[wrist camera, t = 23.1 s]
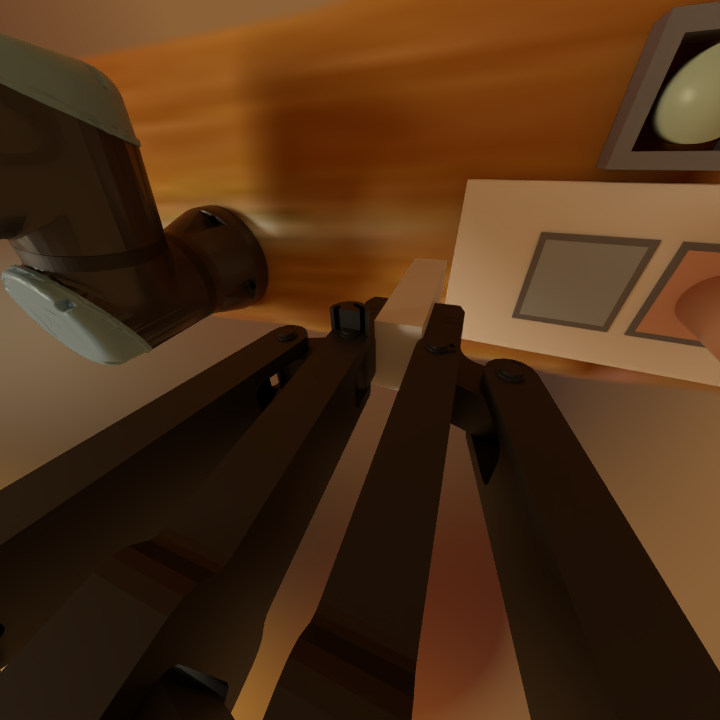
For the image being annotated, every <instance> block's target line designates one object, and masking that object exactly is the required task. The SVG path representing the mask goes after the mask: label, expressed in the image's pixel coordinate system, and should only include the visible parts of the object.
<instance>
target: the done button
mask: <svg viewBox="0 0 720 720" xmlns="http://www.w3.org/2000/svg"><path fill="white" fill-rule="evenodd" d="M651 123H652V128H653V131H654V133H655V134H656V136H657V137H658V138H659V139H661V140H662V141H664V142H667V143H671V144H697V143H703V142H708V141H711V140H714V139H717V138H719V137H720V43H718V44H716V45H714V46H712V47H710V48H708V49H706V50H704V51H702V52H701V53H699V54H697V55H696V56H694V57H693V58H691V59H690V60H689V61H687V62H686V63H685V64H684V65H683V66H681V67H680V68H679V69H678V70H677V71H676V72H675V73H674V74H673V75H672V77H671V78H670V79H669V80H668V81H667V83H666V84H665V85H664V87H663V88H662V90H661V91H660V93H659V95H658V97H657V99H656V101H655V104H654V107H653V110H652V116H651Z"/></svg>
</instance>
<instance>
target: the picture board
mask: <svg viewBox="0 0 720 720" xmlns="http://www.w3.org/2000/svg"><path fill="white" fill-rule="evenodd" d="M719 275H720V184H712V183H659V182H606V181H553V180H500V179H468V181H467V186H466V191H465V197H464V202H463V208H462V213H461V219H460V224H459V229H458V235H457V240H456V246H455V251H454V257H453V262H452V267H451V273H450V278H449V284H448V289H447V295H446V300H445V304H450V305H458V306H461V307H462V309H463V310H464V311H465V317H464V324H463V331H462V338H461V339H466V340H471V341H477V342H482V343H488V344H493V345H498V346H504V347H509V348H515V349H520V350H525V351H531V352H536V353H541V354H547V355H552V356H558V357H563V358H568V359H574V360H579V361H585V362H590V363H595V364H601V365H606V366H611V367H617V368H622V369H628V370H633V371H638V372H644V373H649V374H655V375H660V376H665V377H671V378H676V379H682V380H687V381H692V382H698V383H703V384H708V385H714V386H719V387H720V362H719V361H718V360H717V359H716V358H715V357H714V356H713V355H712V354H711V352H710V351H709V350H708V349H707V348H706V347H705V346H704V345H703V344H702V343H701V342H700V341H699V340H698V339H697V338H696V337H695V336H694V335H693V334H692V333H691V332H690V331H689V330H688V329H687V328H686V327H685V326H684V325H683V324H682V323H681V322H680V321H679V320H678V318H677V317H676V315H675V305H676V303H677V301H678V299H679V298H680V296H681V295H682V294H683V293H684V292H685V291H686V290H688V289H689V288H690V287H692V286H693V285H695V284H697V283H699V282H701V281H703V280H705V279H708V278H711V277H715V276H719Z"/></svg>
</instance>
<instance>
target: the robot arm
mask: <svg viewBox="0 0 720 720" xmlns="http://www.w3.org/2000/svg"><path fill="white" fill-rule="evenodd" d="M139 147H141V143H140V141H139V140H138V139H137V138H136V136H135V133H134V130H133V127H132V124H131V122H130V119H129V116H128V113H127V110H126V107H125V104H124V101H123V98H122V96H121V94H120V92H119V90H118V89H117V87H116V86H115V85H114V83H113V82H112V81H111V80H110V79H109V78H108V77H107V76H106V75H105V74H104V73H103V72H101V71H100V70H98V69H97V68H95V67H94V66H92V65H90V64H88V63H85V62H83V61H81V60H78V59H75V58H73V57H70V56H68V55H65V54H62V53H59V52H57V51H54V50H51V49H48V48H45V47H42V46H40V45H37V44H34V43H31V42H28V41H25V40H22V39H19V38H16V37H13V36H10V35H7V34H4V33H1V32H0V239H7V240H8V241H9V243H10V244H11V245H12V247H13V249H14V250H15V252H16V253H17V255H18V256H19V258H20V260H21V262H22V265H12V266H10V267H9V268H8V269H7V270H5V271H4V272H3V273H2V275H1V279H2V281H3V282H4V283H5V284H4V287H5V289H6V290H7V291H8V293H9V294H10V296H11V297H12V298H13V299H14V300H15V301H16V303H17V304H18V305H19V306H20V307H21V308H22V309H23V310H24V311H25V312H26V313H27V314H28V315H29V316H30V317H31V318H32V319H33V320H34V321H36V322H37V323H38V324H39V325H40V326H41V327H42V328H44V329H45V330H46V331H47V332H48V333H50V334H51V335H52V336H54V337H55V338H56V339H57V340H59V341H60V342H61V343H63V344H64V345H66V346H67V347H69V348H70V349H72V350H73V351H75V352H76V353H78V354H80V355H81V356H83V357H85V358H87V359H89V360H91V361H94V362H96V363H99V364H103V365H120V364H123V363H125V362H127V361H129V360H131V359H133V358H135V357H137V356H140V355H142V354H144V353H148V352H150V351H151V350H152V349H154V348H155V347H157V346H159V345H160V344H162V343H164V342H165V341H167V340H169V339H170V338H172V337H174V336H175V335H177V334H179V333H181V332H182V331H184V330H185V329H187V328H189V327H191V326H192V325H194V324H196V323H197V322H199V321H201V320H202V319H204V318H206V317H207V316H209V315H211V314H213V313H219V312H226V311H232V310H238V309H243V308H246V307H248V306H250V305H252V304H253V303H255V302H256V301H258V300H259V299H260V298H261V297H262V296H263V294H264V293H265V290H266V287H267V282H268V271H267V265H266V261H265V257H264V254H263V252H262V250H261V247H260V245H259V243H258V242H257V240H256V238H255V237H254V235H253V234H252V232H251V231H250V230H249V228H248V227H247V226H246V225H245V224H244V223H243V222H242V221H241V220H240V219H239V218H238V217H236V216H235V215H234V214H232V213H231V212H229V211H227V210H225V209H223V208H221V207H217V206H211V205H208V206H202V207H197V208H193V209H190V210H188V211H186V212H184V213H183V214H182V215H181V216H179V217H178V218H177V219H176V220H174V221H173V222H172V223H171V224H169V225H168V226H167V227H166V228H164V229H163V227H162V223H161V220H160V217H159V213H158V210H157V207H156V203H155V200H154V196H153V193H152V190H151V186H150V183H149V179H148V176H147V173H146V169H145V166H144V163H143V159H142V156H141V152H140V149H139ZM446 263H447V260H439V259H425V258H415V259H414V261H413V262H412V264H411V265H410V267H409V268H408V270H407V271H406V273H405V274H404V276H403V277H402V279H401V281H400V282H399V284H398V285H397V287H396V288H395V290H394V291H393V293H392V294H391V296H390V297H389V298H383V297H374V298H372V299H370V300H368V301H367V302H366V303H365V304H363V303H360V302H354V301H347V302H340V303H337V304H334V305H333V306H331V307H330V317H331V326H332V330H331V332H330V333H329V334H328V335H327V336H326V337H324V338H308V334H307V331H306V329H305V328H303V327H301V326H296V325H286V326H283V327H279V328H277V329H275V330H273V331H271V332H269V333H268V334H266V335H264V336H263V337H261V338H259V339H257V340H256V341H254V342H252V343H251V344H249V345H247V346H245V347H244V348H242V349H240V350H239V351H237V352H235V353H234V354H232V355H230V356H228V357H227V358H225V359H223V360H222V361H220V362H218V363H216V364H215V365H213V366H211V367H210V368H208V369H206V370H205V371H203V372H201V373H200V374H198V375H196V376H195V377H193V378H191V379H189V380H187V381H186V382H184V383H182V384H181V385H179V386H177V387H175V388H174V389H172V390H170V391H169V392H167V393H166V394H164V395H162V396H160V397H158V398H157V399H155V400H154V401H152V402H150V403H148V404H147V405H145V406H143V407H141V408H140V409H138V410H136V411H135V412H133V413H131V414H130V415H128V416H126V417H124V418H123V419H121V420H119V421H117V422H116V423H114V424H112V425H111V426H109V427H107V428H106V429H104V430H102V431H100V432H99V433H97V434H95V435H94V436H92V437H90V438H89V439H87V440H85V441H83V442H82V443H80V444H78V445H77V446H75V447H73V448H72V449H70V450H68V451H66V452H65V453H63V454H61V455H59V456H58V457H56V458H54V459H53V460H51V461H49V462H48V463H46V464H44V465H42V466H41V467H39V468H37V469H36V470H34V471H32V472H31V473H29V474H27V475H25V476H24V477H22V478H20V479H19V480H17V481H15V482H13V483H12V484H10V485H8V486H7V487H5V488H3V489H2V490H0V669H2V668H3V667H5V666H6V665H7V666H6V667H5V668H4V669H3V670H2V671H1V670H0V720H235V719H234V718H233V716H232V715H231V712H232V709H233V707H234V705H235V703H236V701H237V698H238V696H239V694H240V692H241V689H242V687H243V685H244V683H245V681H246V679H247V676H248V674H249V672H250V670H251V668H252V665H253V663H254V660H255V658H256V655H257V653H258V650H259V647H260V643H261V640H262V635H263V628H264V622H265V619H266V616H267V613H268V611H269V608H270V606H271V604H272V602H273V599H274V598H275V595H276V593H277V591H278V589H279V587H280V585H281V583H282V581H283V578H284V576H285V574H286V572H287V570H288V568H289V565H290V563H291V561H292V559H293V557H294V555H295V553H296V551H297V549H298V547H299V544H300V542H301V540H302V538H303V536H304V534H305V532H306V530H307V528H308V525H309V523H310V521H311V519H312V517H313V515H314V513H315V510H316V508H317V506H318V504H319V502H320V500H321V498H322V495H323V494H324V491H325V489H326V487H327V485H328V483H329V481H330V479H331V477H332V474H333V472H334V470H335V468H336V466H337V464H338V462H339V460H340V458H341V455H342V453H343V451H344V449H345V447H346V445H347V443H348V441H349V438H350V436H351V434H352V432H353V430H354V428H355V426H356V423H357V421H358V419H359V417H360V415H361V413H362V411H363V409H364V407H365V404H366V402H367V400H368V398H369V396H370V392H371V381H372V379H373V377H374V375H375V386H379V387H384V388H389V389H393V390H398V393H397V396H396V399H395V402H394V404H393V407H392V410H391V412H390V415H389V417H388V420H387V423H386V425H385V428H384V431H383V434H382V436H381V439H380V442H379V444H378V447H377V450H376V453H375V455H374V458H373V460H372V463H371V466H370V469H369V471H368V474H367V476H366V480H365V482H364V485H363V487H362V490H361V493H360V495H359V498H358V501H357V503H356V506H355V509H354V511H353V514H352V517H351V520H350V522H349V525H348V527H347V530H346V533H345V536H344V538H343V541H342V544H341V547H340V549H339V552H338V554H337V557H336V560H335V562H334V565H333V568H332V571H331V573H330V576H329V578H328V581H327V584H326V586H325V589H324V592H323V595H322V597H321V600H320V602H319V605H318V607H317V610H316V612H315V614H314V616H313V618H312V620H311V622H310V623H309V624H308V626H307V627H306V628H305V630H304V631H303V632H302V634H301V635H300V636H299V638H298V640H297V642H296V643H295V645H294V648H293V649H292V651H291V653H290V655H289V657H288V659H287V662H286V664H285V666H284V668H283V671H282V673H281V676H280V678H279V680H278V682H277V685H276V688H275V690H274V692H273V695H272V698H271V700H270V703H269V705H268V708H267V710H266V713H265V716H264V718H263V720H411V719H412V709H413V700H414V685H415V684H414V683H415V671H416V662H417V655H418V647H419V640H420V633H421V626H422V619H423V612H424V604H425V598H426V591H427V584H428V577H429V570H430V563H431V556H432V549H433V541H434V535H435V528H436V521H437V514H438V506H439V500H440V493H441V486H442V479H443V472H444V464H445V457H446V451H447V443H448V436H449V429H450V423H451V424H453V425H455V426H457V427H459V428H461V429H463V430H465V431H466V439H467V444H468V448H469V452H470V457H471V461H472V465H473V470H474V474H475V478H476V483H477V487H478V492H479V496H480V500H481V505H482V509H483V513H484V518H485V522H486V526H487V531H488V535H489V539H490V543H491V548H492V552H493V557H494V561H495V565H496V570H497V573H498V578H499V582H500V587H501V591H502V596H503V600H504V604H505V609H506V613H507V617H508V621H509V626H510V631H511V635H512V639H513V644H514V648H515V652H516V657H517V661H518V665H519V670H520V674H521V678H522V683H523V686H524V691H525V695H526V700H527V704H528V709H529V713H530V717H531V720H720V672H719V670H718V668H717V667H716V665H715V664H714V662H713V660H712V659H711V657H710V655H709V654H708V652H707V650H706V649H705V647H704V645H703V644H702V642H701V640H700V639H699V637H698V636H697V634H696V632H695V631H694V629H693V628H692V626H691V624H690V623H689V621H688V619H687V618H686V616H685V614H684V613H683V611H682V610H681V608H680V606H679V605H678V603H677V601H676V600H675V598H674V596H673V595H672V593H671V591H670V590H669V588H668V587H667V585H666V583H665V582H664V580H663V578H662V577H661V575H660V573H659V572H658V570H657V569H656V567H655V565H654V564H653V562H652V561H651V559H650V557H649V555H648V554H647V552H646V551H645V549H644V547H643V546H642V544H641V542H640V541H639V539H638V538H637V536H636V534H635V533H634V531H633V530H632V528H631V526H630V524H629V523H628V521H627V520H626V518H625V516H624V515H623V513H622V511H621V510H620V508H619V507H618V505H617V503H616V502H615V500H614V498H613V497H612V495H611V493H610V492H609V491H608V488H607V487H606V485H605V484H604V482H603V480H602V479H601V477H600V475H599V474H598V472H597V471H596V469H595V467H594V466H593V464H592V462H591V461H590V459H589V457H588V456H587V454H586V453H585V451H584V449H583V448H582V446H581V444H580V443H579V441H578V439H577V438H576V436H575V435H574V433H573V432H572V430H571V428H570V426H569V425H568V423H567V421H566V420H565V418H564V417H563V415H562V413H561V412H560V410H559V408H558V407H557V405H556V404H555V402H554V400H553V399H552V397H551V395H550V394H549V392H548V391H547V389H546V387H545V385H544V384H543V382H542V381H541V379H540V377H539V376H538V374H537V373H536V372H535V371H534V370H533V369H532V368H531V367H529V366H527V365H526V364H524V363H521V362H519V361H516V360H511V359H504V358H503V359H494V360H491V361H489V362H488V363H487V364H486V365H485V366H483V365H481V364H478V363H476V362H473V361H471V360H470V359H468V358H467V357H466V356H465V355H464V354H463V353H462V351H461V348H460V345H461V338H462V331H463V324H464V317H465V311H464V310H463V309H462V307H461V306H458V305H450V304H441V297H442V290H443V283H444V277H445V270H446ZM275 374H277V378H278V381H279V383H278V384H276V385H274V386H271V382H270V379H269V378H270V377H272V376H273V375H275Z"/></svg>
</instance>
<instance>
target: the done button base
mask: <svg viewBox="0 0 720 720" xmlns="http://www.w3.org/2000/svg"><path fill="white" fill-rule="evenodd" d="M716 40H720V1H718V2H711V3H703V4H695V5H688V6H680V7H674V8H673V9H671V10H670V11H669V12H668V13H666V14H665V15H664V16H663V17H661V18H660V19H659V20H658V21H657V22H655V23H654V25H653V27H652V30H651V32H650V34H649V37H648V39H647V42H646V44H645V47H644V49H643V52H642V54H641V57H640V59H639V62H638V64H637V67H636V69H635V72H634V74H633V76H632V79H631V81H630V84H629V86H628V89H627V91H626V94H625V96H624V99H623V101H622V104H621V106H620V109H619V111H618V113H617V116H616V118H615V121H614V123H613V126H612V128H611V131H610V133H609V136H608V138H607V141H606V143H605V146H604V148H603V151H602V153H601V155H600V158H599V160H598V163H597V165H596V168H600V169H604V170H708V171H720V138H719V140H718V142H717V143H716V145H715V147H714V149H713V150H698V151H631V150H632V148H633V146H634V144H635V142H636V139H637V137H638V135H639V133H640V131H641V128H642V126H643V124H644V122H645V120H646V117H647V115H648V113H649V111H650V109H651V106H652V104H653V102H654V100H655V98H656V95H657V93H658V91H659V89H660V87H661V84H662V82H663V80H664V78H665V76H666V73H667V71H668V69H669V67H670V65H671V62H672V60H673V58H674V56H675V54H676V51H677V49H678V47H679V45H680V44H686V43H696V42H706V41H716Z"/></svg>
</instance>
